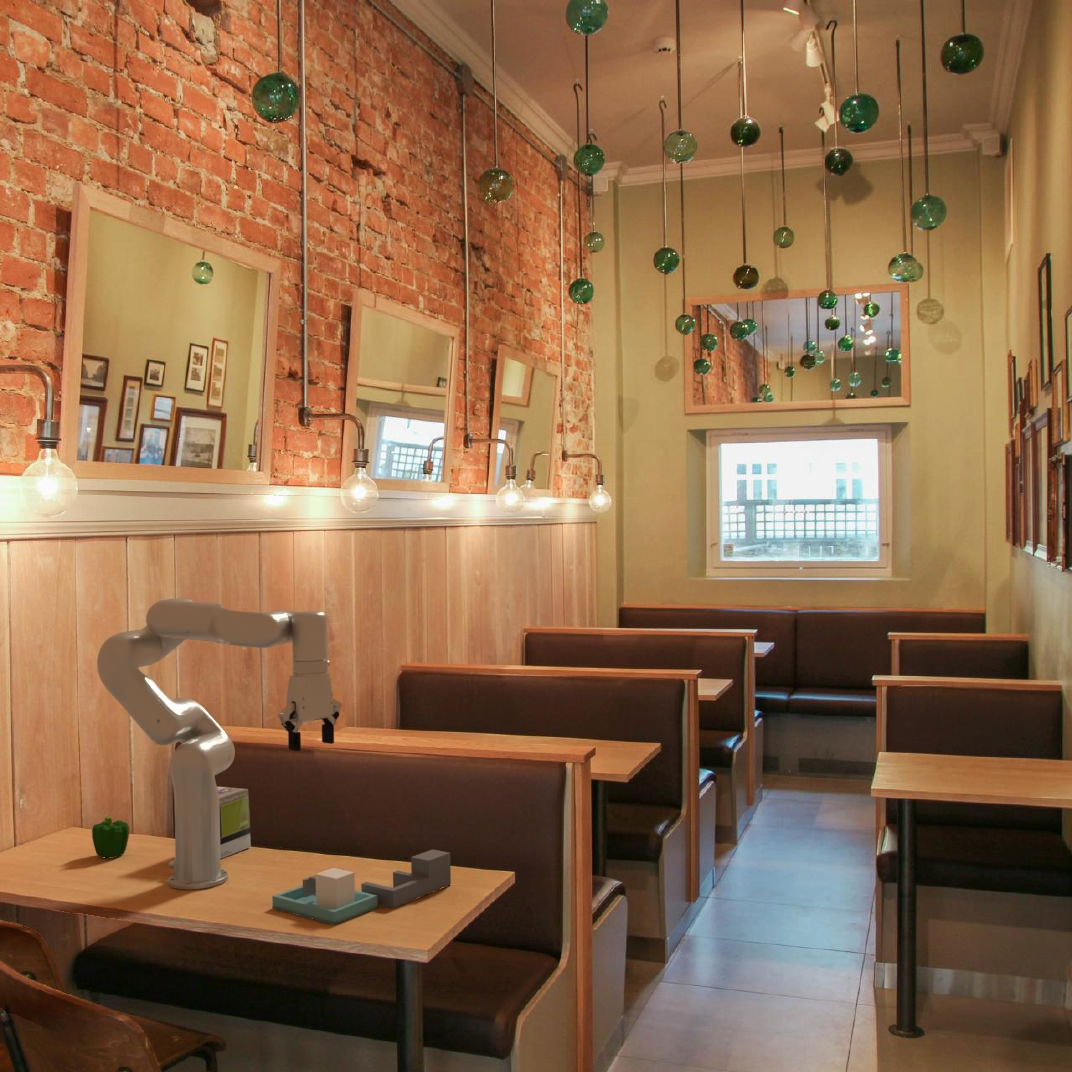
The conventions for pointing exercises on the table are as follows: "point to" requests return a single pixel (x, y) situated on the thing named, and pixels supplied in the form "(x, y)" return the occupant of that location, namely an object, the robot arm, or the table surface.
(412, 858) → the bay
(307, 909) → the tray
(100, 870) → the table surface
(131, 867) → the table surface
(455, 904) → the table surface
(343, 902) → the t-handle cube
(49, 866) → the table surface
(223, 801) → the tea box
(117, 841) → the bell pepper
